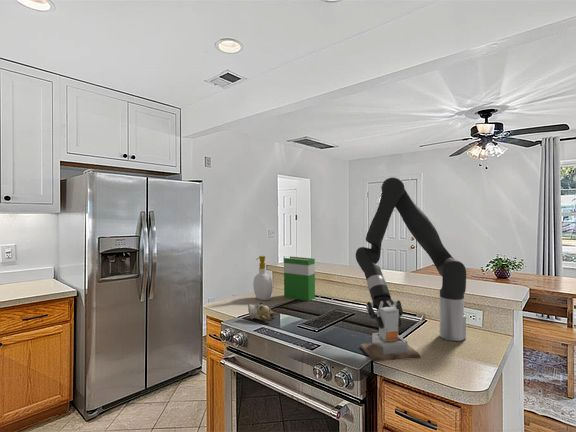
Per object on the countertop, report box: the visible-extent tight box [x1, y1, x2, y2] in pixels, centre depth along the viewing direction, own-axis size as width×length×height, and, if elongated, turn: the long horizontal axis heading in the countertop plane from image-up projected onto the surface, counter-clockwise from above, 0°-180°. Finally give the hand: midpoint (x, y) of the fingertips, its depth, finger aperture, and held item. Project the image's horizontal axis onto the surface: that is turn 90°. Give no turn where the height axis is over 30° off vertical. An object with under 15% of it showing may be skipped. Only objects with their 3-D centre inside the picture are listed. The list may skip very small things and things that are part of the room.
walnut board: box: [360, 342, 421, 362], centre depth 133 cm, size 18×13×1 cm
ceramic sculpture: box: [247, 302, 280, 323], centre depth 173 cm, size 11×9×15 cm
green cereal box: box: [283, 255, 316, 302], centre depth 212 cm, size 18×7×24 cm, turn 55°
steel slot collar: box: [371, 332, 408, 356], centre depth 133 cm, size 9×10×4 cm
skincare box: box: [378, 306, 399, 342], centre depth 133 cm, size 6×4×12 cm
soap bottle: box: [253, 255, 273, 301], centre depth 209 cm, size 14×9×26 cm, turn 47°
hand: (390, 327), depth 131 cm, fingers closed on skincare box, 6 cm apart
